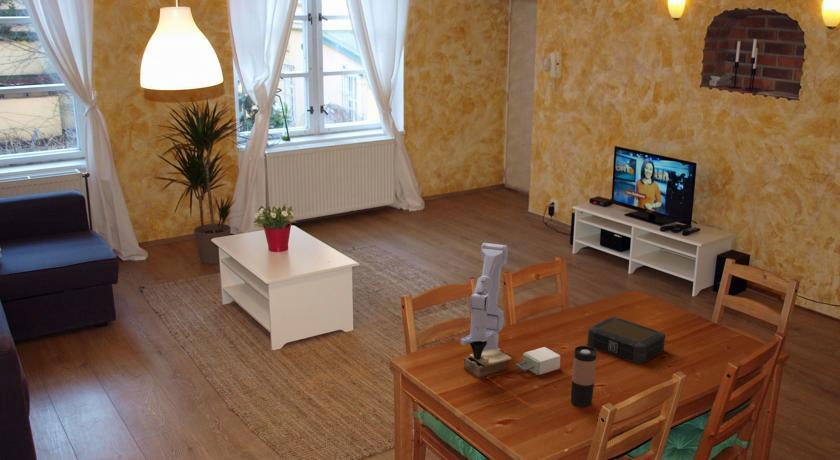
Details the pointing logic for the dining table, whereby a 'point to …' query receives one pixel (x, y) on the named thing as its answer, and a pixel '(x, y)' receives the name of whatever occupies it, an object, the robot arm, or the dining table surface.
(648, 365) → the dining table surface
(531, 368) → the drawer
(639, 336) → the cash box
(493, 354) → the box lid
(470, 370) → the walnut box
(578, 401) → the travel mug
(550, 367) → the white cabinet
